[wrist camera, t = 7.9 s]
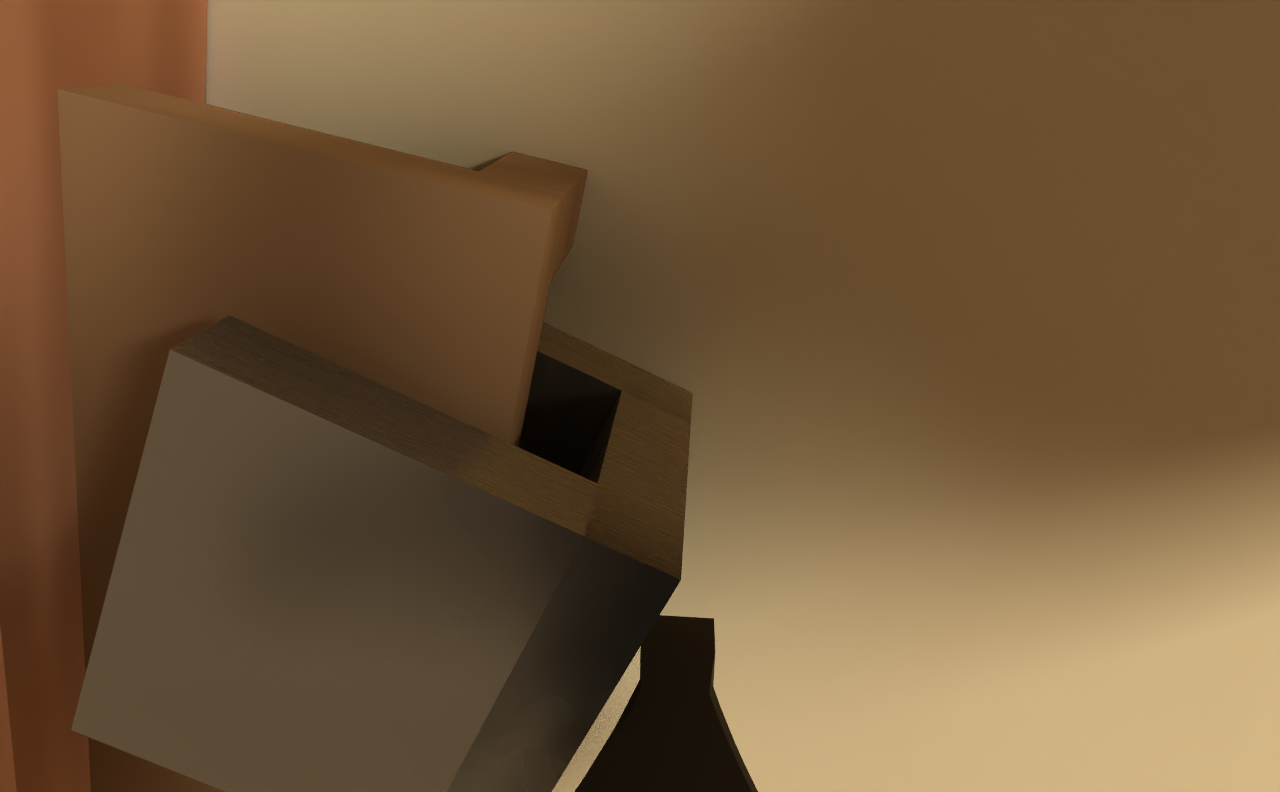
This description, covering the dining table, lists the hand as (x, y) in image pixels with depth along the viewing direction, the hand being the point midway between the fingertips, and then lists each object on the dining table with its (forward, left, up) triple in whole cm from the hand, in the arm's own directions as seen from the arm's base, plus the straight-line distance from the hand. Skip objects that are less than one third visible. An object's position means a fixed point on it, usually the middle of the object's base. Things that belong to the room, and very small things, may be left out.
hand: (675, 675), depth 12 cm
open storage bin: (+4, -1, -2) cm, 4 cm away
